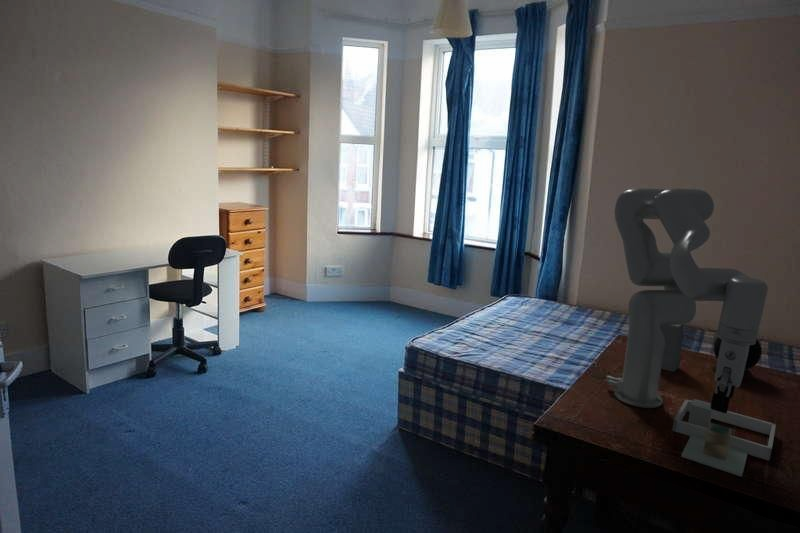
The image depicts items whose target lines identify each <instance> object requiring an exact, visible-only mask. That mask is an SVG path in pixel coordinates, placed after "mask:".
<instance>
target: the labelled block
mask: <svg viewBox="0 0 800 533" xmlns="http://www.w3.org/2000/svg"><path fill="white" fill-rule="evenodd" d="M732 432H733V428H729V427H726V426H723V425H719V424H716V423H713V422H710V425H709V427H708V429H707V434H706V439H705V444H704V450H703V454H706V455H709V456H712V457H715V458H718V459H721V460H724V461H725V460H726V457H727V454H728V449H729V444H730V439H731V436H732Z"/></svg>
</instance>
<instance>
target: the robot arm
mask: <svg viewBox="0 0 800 533" xmlns="http://www.w3.org/2000/svg"><path fill="white" fill-rule="evenodd" d="M714 208H715V203H714V201H713V198H712V196H711V195H710V194H709V193H708V192H706V191H705V190H703V189H698V188H697V189H694V188H693V189H691V188H668V189H664V188H648V187H647V188H645V187H642V188H640V187H638V188H631V189H627V190H625V191H623V192H621V194H619V196H618V197H617V200H616V202H615V206H614V218H615V222H616V226H617V229H618V232H619V234H620V237H621V240H622V243H623V248H624V249H623V251H624V257H625V261H626V262H625V264H626V266H627V273H628V277H629V280H630V281H631V283H632V284H633V285H635V286H639V287H663V288H664V290H663V289H645V290H640V291H636V292H635V293H633V294H632V295H631V296H630V298H629V300H628V306H627V307H628V308H627V310H628V311H627V312H628V332H627V333H628V334H627V340H626V350H625V355H624V356H625V357H624V362H623V370H622V375H621V377H618V378H617V377H614V376H612V375H606V378H605V382H607V385H608V386H613V387H615V388H614V392H613V395H614V396H615V397H616V399H618V400H619V401H621V402H623V403H625V404H627V405H628V406H629V405H630V406H633V407H638V408H644V409H646V408H647V409H654V408H658V407H660V406H662V404H663V397H662V396H661V394H658V391H659V390H658V389H659V385H660V379H661V371H662V369H661V367H662V360H663V354H664V347H665V339H664V336H663V334H662V332H661V330H660V325H680V324H684V325H686V324H689V323H691V322H692V321H693V320H694V318H695V316H696V314H697V303H696V302H723V303H722V308H721V311H720V315H719V316H720V317H719V321H718V326H717V331H716V336H717V337H719V338H720V339H722V341H721V345H720V350H719V355H718V359H717V362H716V365H717V366H716V365H715V366H716V373H714V382H715V383H716V386H715V390H714V391H713V394H712V399H711V407H710V408H711V409H712V410H716V411H719V412H722V413H727V411H729V410H728V408H729V405H730V400H731V399H732V398H733V397H734V396H733V395H734V393H735V388H737V389H739V387H741V384H742V382H743V381H742V379H743V375H744V370H745V366H746V361H747V357H748V352H749V345H754V344H755V343H756V339H757V340H758V333H759V329H760V326H761V321H762V318H763V312H764V308H765V304H766V299H767V295H768V291H769V290H768V289H769V286H768V284H767V283H766V282H765V281H763V280H761V279H758V278H754V277H751V276H748V275H746V274H745V273H744V272H742V271H740V270H739V269H738V270H737V269H734V268H719V267H718V268H712V267H699V266H698V265H697V263H696V262H695V261H696V260H694V258H693V255H692V254H691V252H692V251H694V250H697V249H699V248H700V247H701V246H703V245H704V244H705V243H706V242H707V241H708V240H709V239H710V236H711V230H710V228H709V227H708V225H707V224H706V222H705V221H707V220H708V219H709V218H711V217H712V215H713V213H714ZM644 220H660V222H661V224H662V226H663V227H664V229H665V231H666V233H667V234H668V237H669V238H670V240H671V242H672V244H673V246H672V249H671V252H662V251H661V252H660V250H659V248H658V245H657V239H656V236H655V234H654V232H653V231H652V228H650V227H649V225H647V224H646V222H644ZM717 337H716V338H717Z"/></svg>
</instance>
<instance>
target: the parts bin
mask: <svg viewBox="0 0 800 533" xmlns="http://www.w3.org/2000/svg"><path fill="white" fill-rule="evenodd" d="M692 402H693V400H690V399H687V398H686V399H685V400H684V402H683V403H682V405H681V407H680V408H679V410H678V412H677V413H676V415H675V417H674V419H673V422H672V428H671V431H672V432H675V433H679V434H681V435H685V436H688V437H690V436H691V435H694V436H698V437H701V438H704V439H706V434H707V429H708V428H705V427H701V426H698V425H695V424H691V423H688V421H684V420H683V419H684V416H685V415H686V413H687V412H689V413H690V408H691V404H692ZM712 419H713V420H716V421H719V422H722V423H725V424H729V425H733V426H736V427H740V428H743V429H747V430H749V431H750V430H751V431H753V432H757V433H761V434H763V435H768V436H769V438H768V443H767V445H764V444H762V443H757V442H754V441H751V440H748V439H744V438H741V437H738V436H735V435H731V439H730V444H729V446H730V447H733V448H736V449H740V450H743V451H746V452H748V454H747V455H749V456H752V457H756V458H759V459H762V460H766V461H768V462H770V459H771V455H772V449H773V444H774V440H775V439H774V437H775V434H776V428H777V427H776V426H777V424H776V423H773V422H770V421H765V420H762V419H759V418H755V417H751V416H748V415H744V414H740V413H736V412H733V411H731V410H727V413H722V412H719V411H716V410H712V416H711V420H712Z"/></svg>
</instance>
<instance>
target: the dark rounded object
mask: <svg viewBox="0 0 800 533" xmlns="http://www.w3.org/2000/svg"><path fill="white" fill-rule="evenodd" d="M721 341H722V339H720V338H719V337H716V338H715V340H714V344H713V354H714V357H715V358H716V359H717V360H718V355H719V350H720V345H721ZM761 357H762V346H761V342H760V341H759V339H758V338H757V339H756V343H755V344H754V345H749V352H748V357H747V361H746V366H745V370H744V375H743V379H742V382H751V381H753V380H754V379H753V378H754V375H753V374H752V371H751V370H750V369H751V368H754V367H755V366H756V365H757V364H758V363H759V361H760V360H761ZM716 366H717V364H716V365H714V366H713V367H712V372H713V373H714V374H715V373H716Z"/></svg>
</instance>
